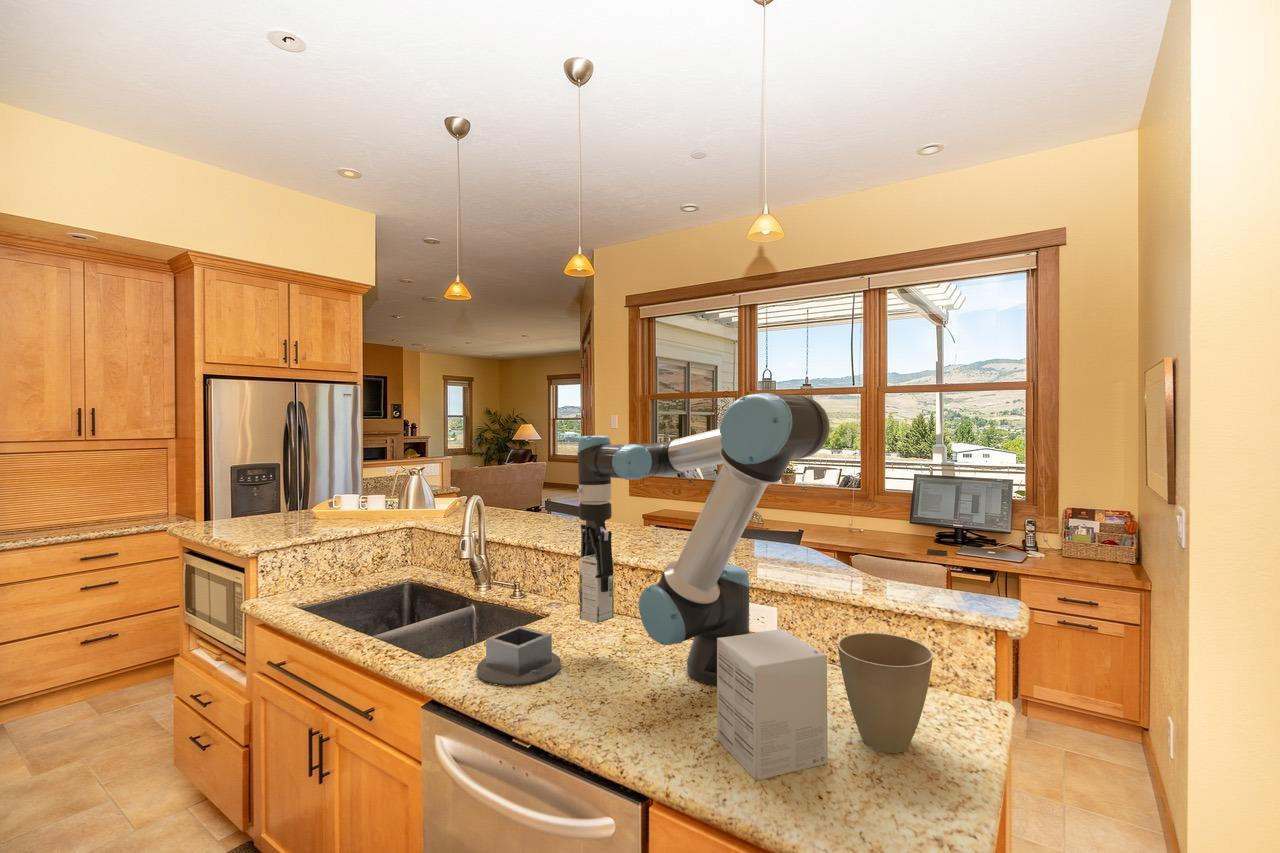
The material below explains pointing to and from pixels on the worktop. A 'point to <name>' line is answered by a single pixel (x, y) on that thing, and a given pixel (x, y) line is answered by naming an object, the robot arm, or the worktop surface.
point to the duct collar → (518, 658)
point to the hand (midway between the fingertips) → (596, 600)
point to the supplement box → (772, 702)
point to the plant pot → (885, 686)
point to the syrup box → (593, 592)
